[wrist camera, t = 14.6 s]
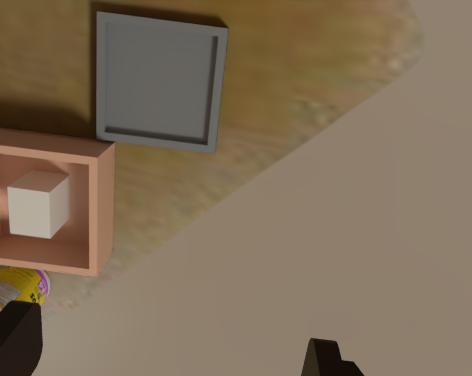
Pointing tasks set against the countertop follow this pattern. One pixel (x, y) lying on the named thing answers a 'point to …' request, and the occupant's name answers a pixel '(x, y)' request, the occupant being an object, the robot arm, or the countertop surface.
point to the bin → (81, 201)
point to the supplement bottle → (23, 285)
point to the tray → (159, 82)
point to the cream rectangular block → (39, 203)
